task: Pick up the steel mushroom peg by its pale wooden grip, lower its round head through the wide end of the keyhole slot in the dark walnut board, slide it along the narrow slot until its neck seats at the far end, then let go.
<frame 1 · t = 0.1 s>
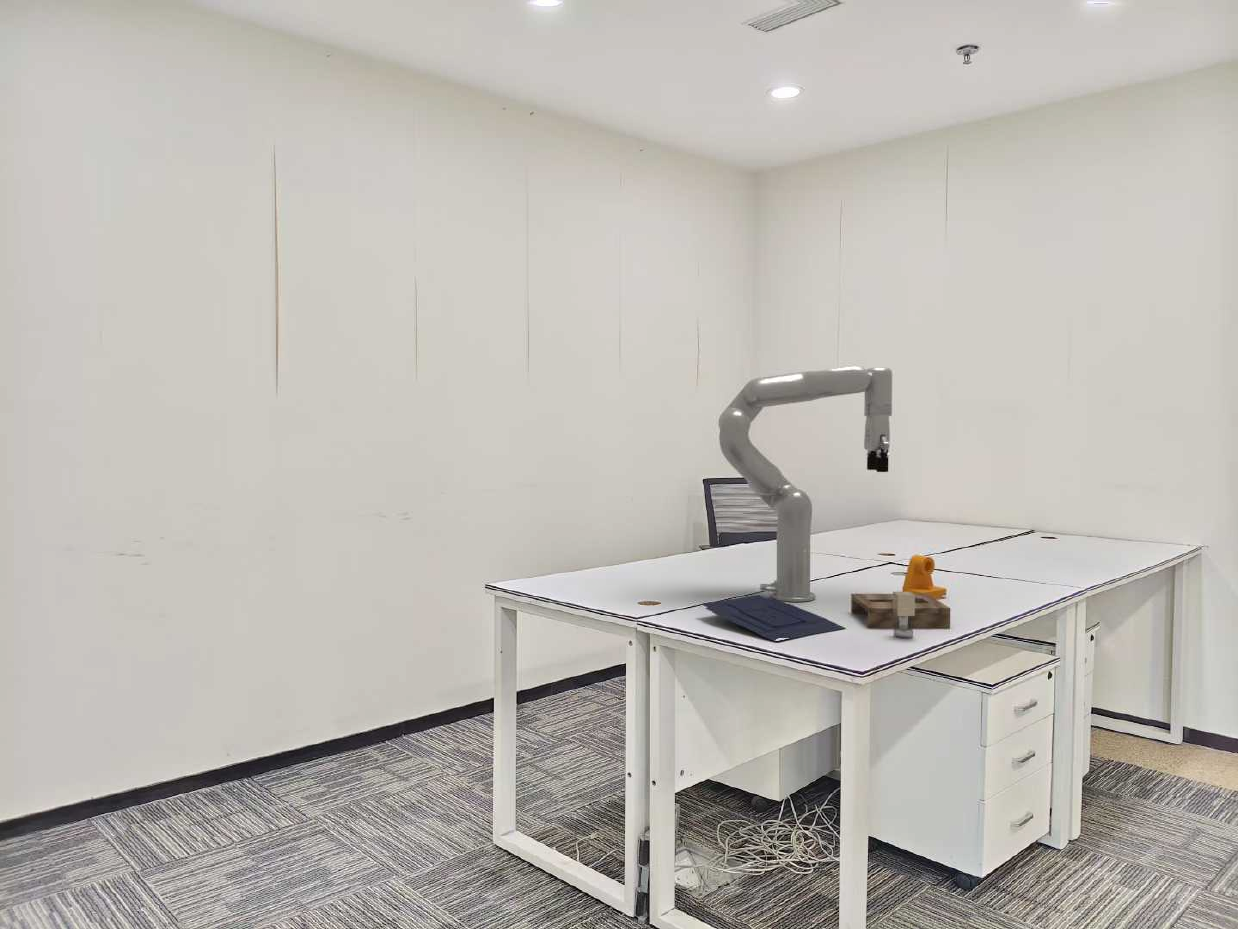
hand: (877, 470, 256), 37 cm above the table, fingers open, 9 cm apart
bracket: (925, 598, 258), on the table
keyhole board: (898, 619, 230), on the table
peg: (903, 636, 213), on the table
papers: (768, 625, 227), on the table
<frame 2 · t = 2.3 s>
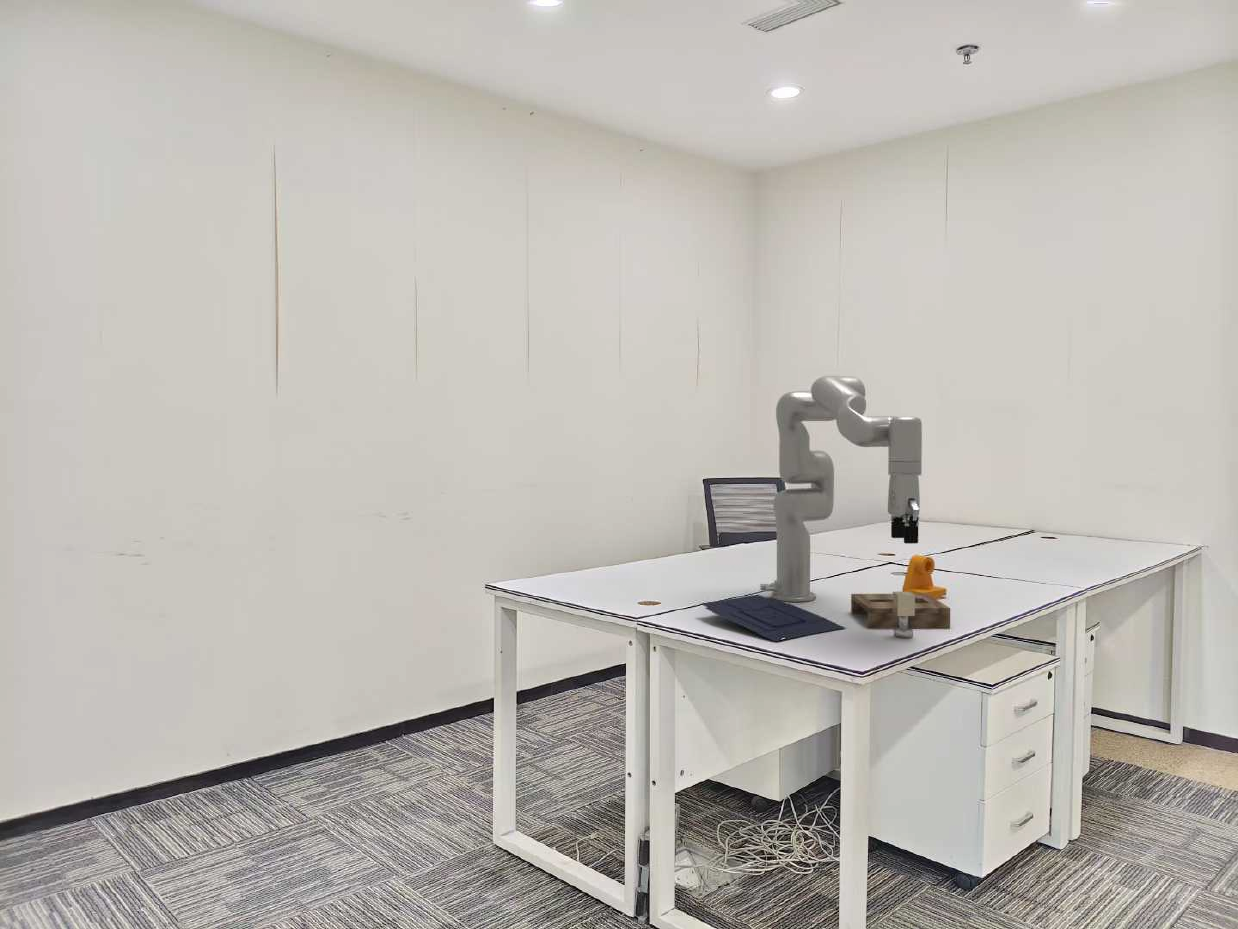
hand: (904, 540, 213), 23 cm above the table, fingers open, 9 cm apart
nothing on the table moved.
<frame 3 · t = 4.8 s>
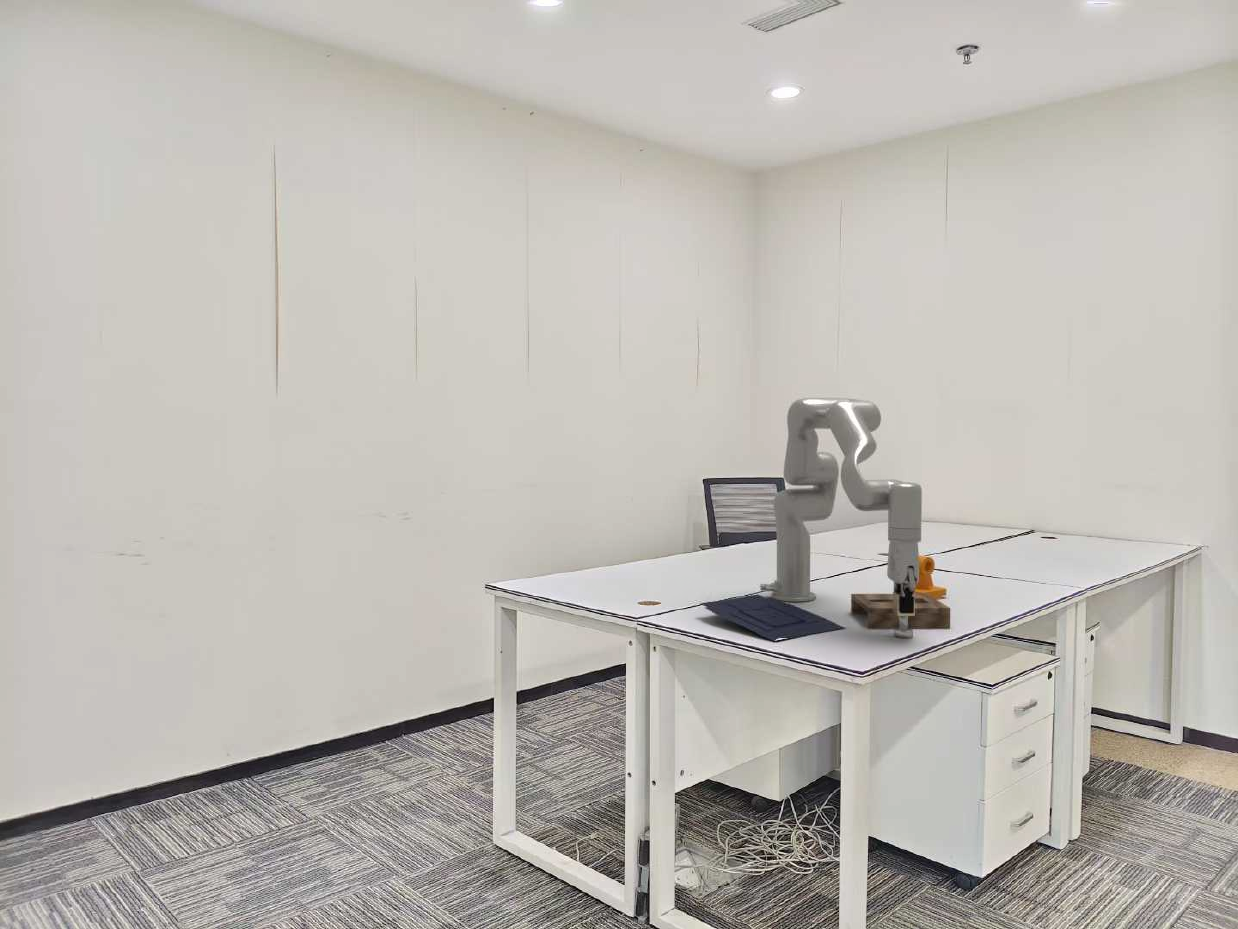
hand: (903, 610, 213), 6 cm above the table, fingers closed on peg, 4 cm apart
peg: (903, 636, 213), on the table, touching gripper
everything else where it was.
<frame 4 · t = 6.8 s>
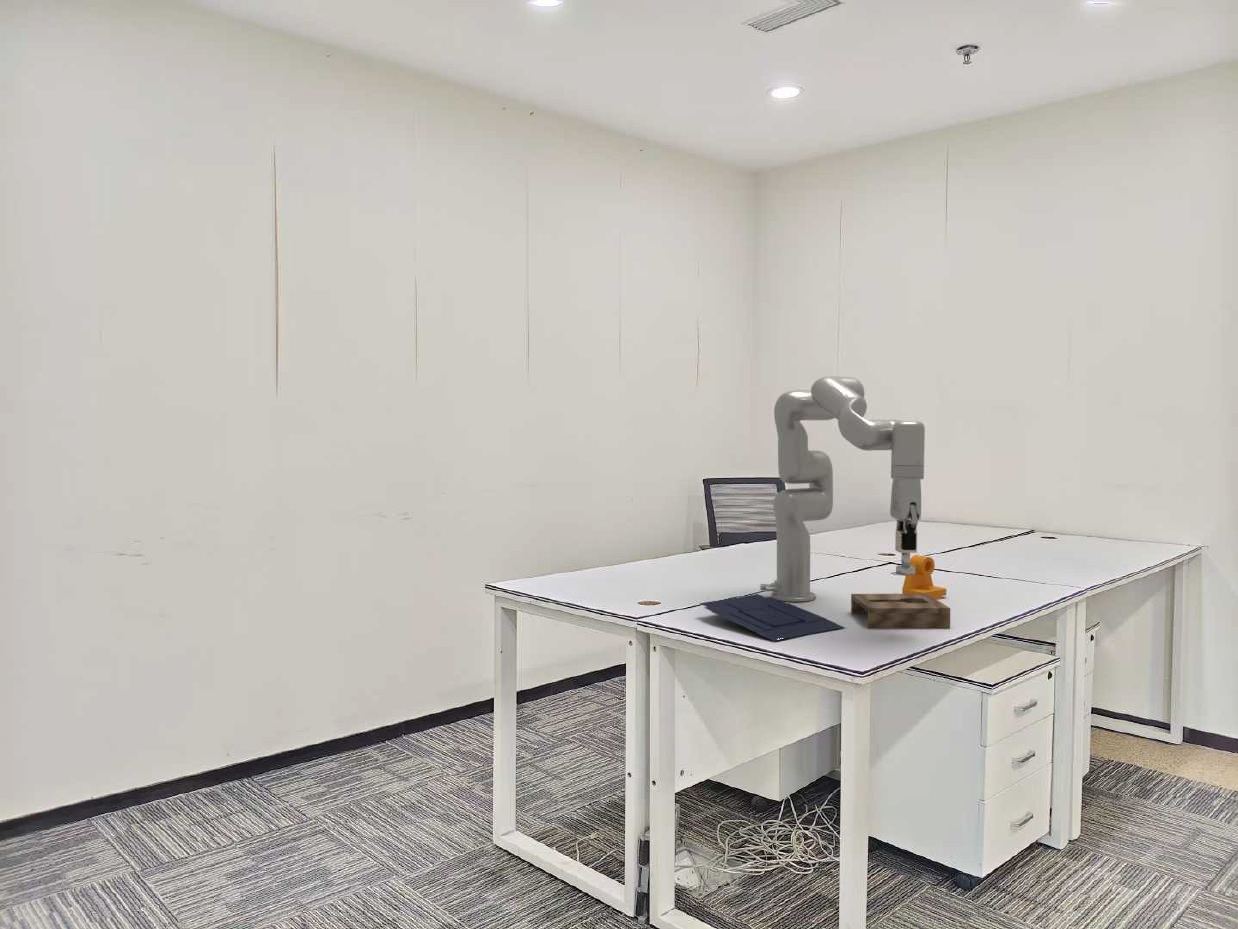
hand: (905, 547, 215), 21 cm above the table, fingers closed on peg, 4 cm apart
peg: (905, 573, 216), point 15 cm above the table, touching gripper
everything else where it was.
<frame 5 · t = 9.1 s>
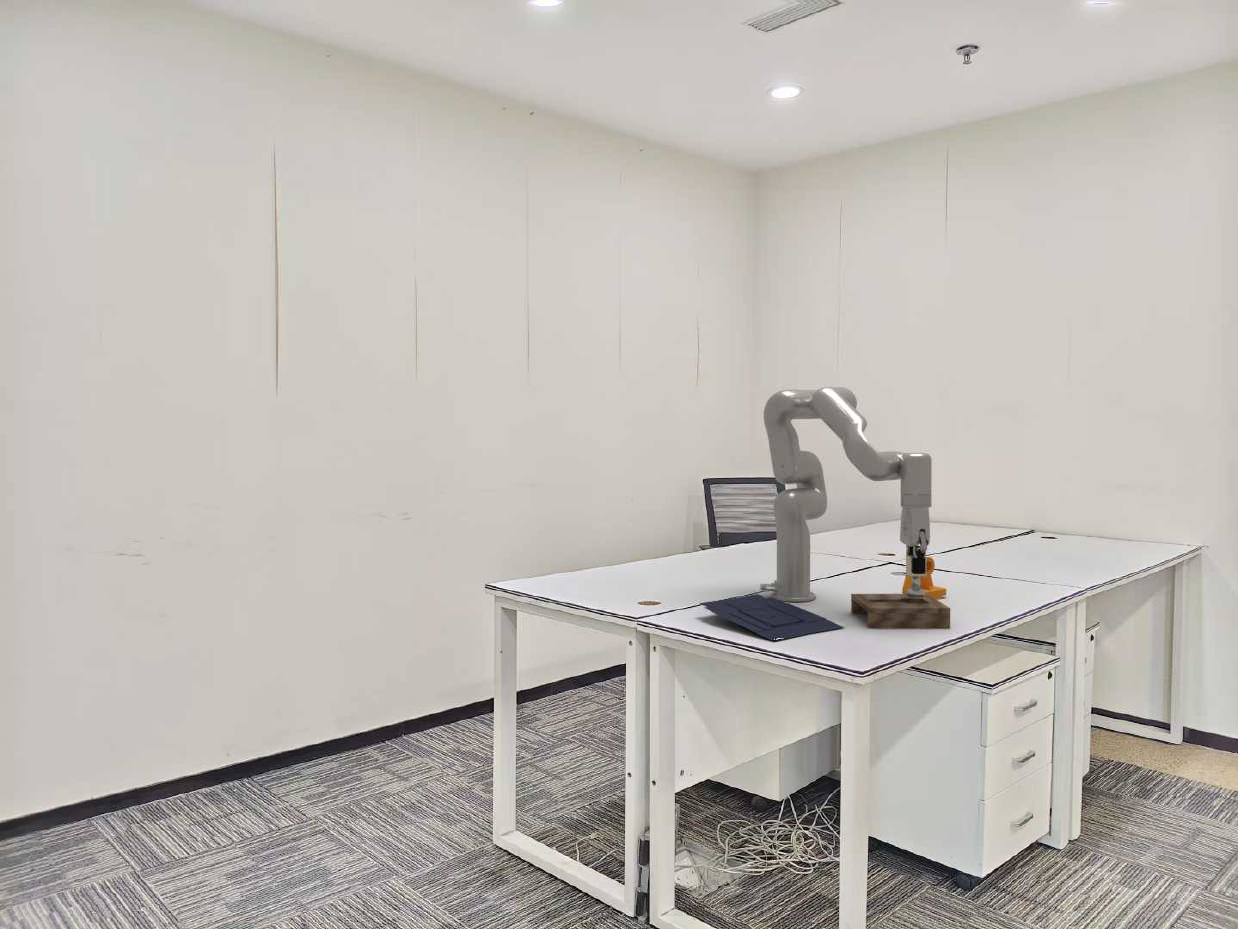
hand: (915, 571, 229), 13 cm above the table, fingers closed on peg, 4 cm apart
peg: (916, 595, 230), point 6 cm above the table, touching gripper
everything else where it was.
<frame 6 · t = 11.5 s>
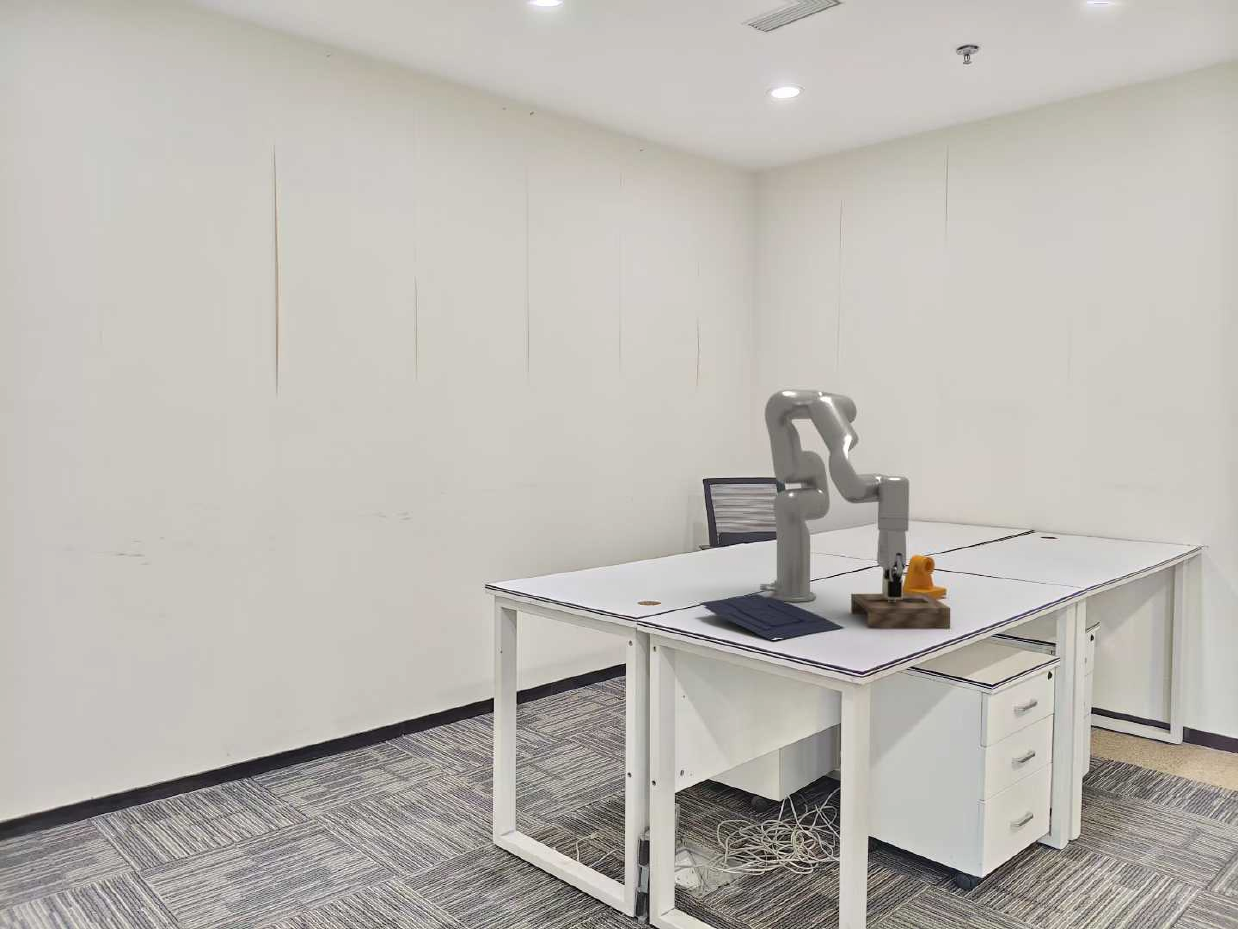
hand: (892, 594, 230), 7 cm above the table, fingers closed on peg, 4 cm apart
peg: (891, 618, 230), on the table, touching gripper
everything else where it was.
when the fingers open (7 cm above the table, at t = 13.6 s): peg stays where it is, on the table.
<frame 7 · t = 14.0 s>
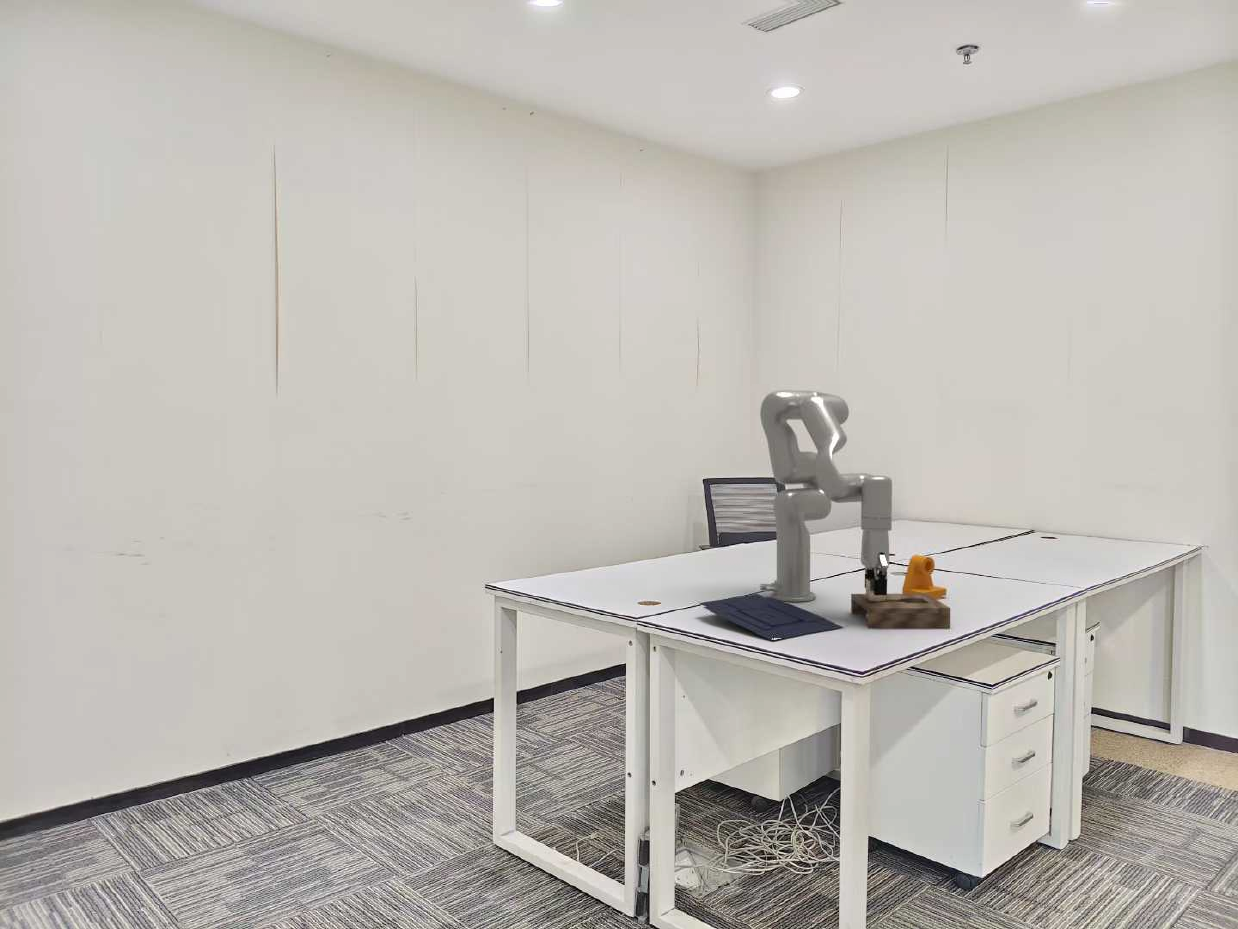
hand: (875, 591, 230), 7 cm above the table, fingers open, 8 cm apart
peg: (875, 620, 230), on the table
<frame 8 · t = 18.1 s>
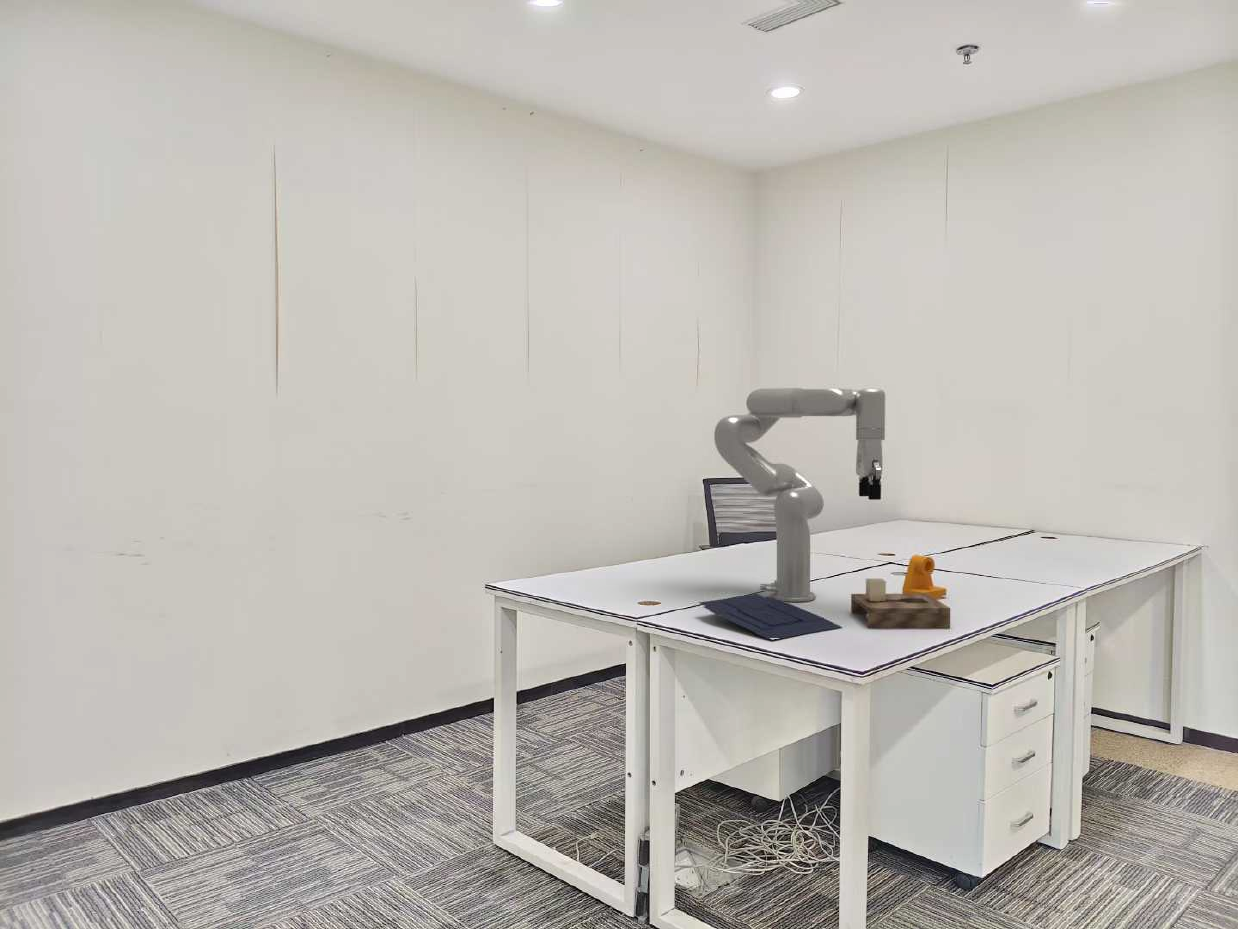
hand: (869, 497, 243), 30 cm above the table, fingers open, 9 cm apart
at the end: peg 0.2 cm from the target spot on the keyhole board, point 0.0 cm above the keyhole board's base; the gripper is holding nothing; peg tilted 0° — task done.
